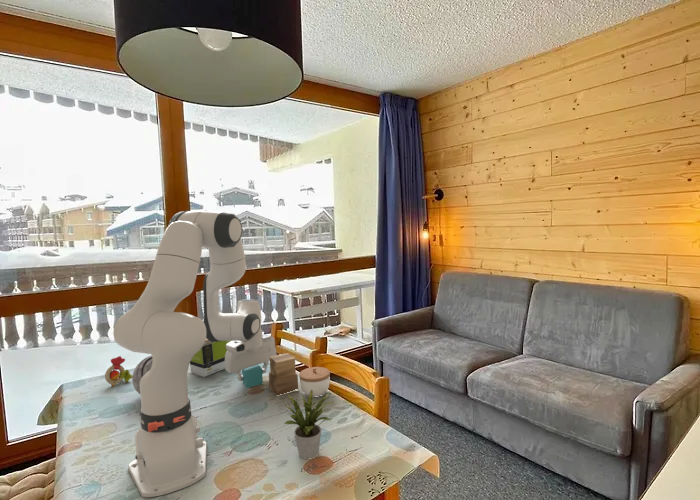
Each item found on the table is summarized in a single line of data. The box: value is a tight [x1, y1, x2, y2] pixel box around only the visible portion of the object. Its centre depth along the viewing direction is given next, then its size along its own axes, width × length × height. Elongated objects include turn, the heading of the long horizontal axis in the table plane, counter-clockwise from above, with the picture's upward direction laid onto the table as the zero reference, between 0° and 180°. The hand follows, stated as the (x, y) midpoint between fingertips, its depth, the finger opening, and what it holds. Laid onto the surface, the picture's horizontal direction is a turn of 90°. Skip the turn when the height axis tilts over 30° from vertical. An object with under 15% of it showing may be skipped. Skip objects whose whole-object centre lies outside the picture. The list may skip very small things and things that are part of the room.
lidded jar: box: [298, 366, 331, 397], centre depth 137 cm, size 11×11×9 cm
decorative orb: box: [131, 354, 153, 395], centre depth 140 cm, size 15×14×15 cm
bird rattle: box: [104, 355, 133, 387], centre depth 152 cm, size 6×11×9 cm
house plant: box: [283, 389, 333, 460], centre depth 101 cm, size 14×14×16 cm
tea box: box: [189, 338, 231, 378], centre depth 163 cm, size 15×10×15 cm
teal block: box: [241, 364, 264, 389], centre depth 148 cm, size 6×6×6 cm
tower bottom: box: [268, 371, 299, 396], centre depth 142 cm, size 8×8×6 cm
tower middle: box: [269, 352, 297, 379], centre depth 141 cm, size 7×7×6 cm
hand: (252, 376), depth 148 cm, fingers open, 8 cm apart
